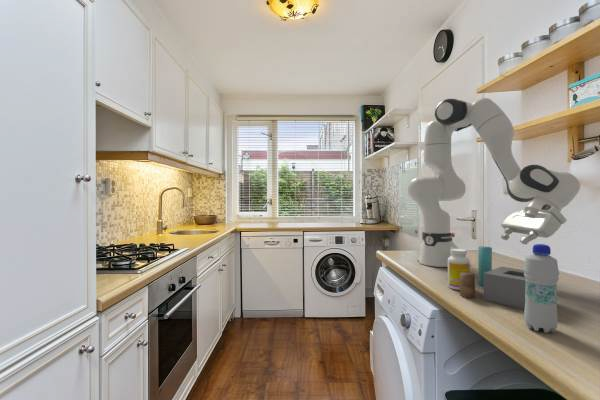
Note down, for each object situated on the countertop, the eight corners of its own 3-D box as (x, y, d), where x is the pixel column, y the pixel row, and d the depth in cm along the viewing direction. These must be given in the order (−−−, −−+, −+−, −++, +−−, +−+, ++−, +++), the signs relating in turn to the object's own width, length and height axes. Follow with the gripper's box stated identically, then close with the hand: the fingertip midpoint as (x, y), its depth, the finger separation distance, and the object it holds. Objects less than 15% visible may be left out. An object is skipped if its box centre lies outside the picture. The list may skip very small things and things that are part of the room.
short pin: (463, 293, 103) (464, 271, 103) (477, 296, 100) (477, 273, 100) (457, 295, 101) (457, 273, 101) (470, 299, 98) (471, 276, 97)
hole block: (501, 291, 105) (501, 266, 105) (550, 301, 95) (550, 274, 95) (483, 299, 97) (483, 273, 97) (534, 312, 87) (535, 282, 87)
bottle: (563, 330, 76) (563, 244, 75) (552, 337, 72) (553, 247, 71) (529, 321, 81) (530, 241, 80) (518, 327, 77) (518, 243, 77)
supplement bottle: (472, 291, 105) (472, 251, 105) (450, 290, 106) (450, 251, 106) (466, 285, 112) (466, 248, 111) (445, 284, 113) (445, 247, 113)
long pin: (481, 282, 115) (481, 246, 115) (493, 285, 112) (493, 247, 112) (476, 284, 113) (476, 247, 112) (488, 287, 110) (488, 248, 109)
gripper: (512, 204, 123) (487, 230, 123) (558, 207, 102) (528, 238, 102) (524, 216, 123) (498, 242, 123) (571, 221, 103) (541, 252, 103)
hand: (512, 240), depth 112 cm, fingers open, 8 cm apart
